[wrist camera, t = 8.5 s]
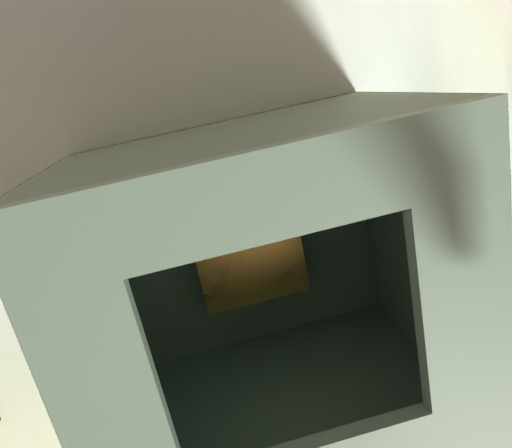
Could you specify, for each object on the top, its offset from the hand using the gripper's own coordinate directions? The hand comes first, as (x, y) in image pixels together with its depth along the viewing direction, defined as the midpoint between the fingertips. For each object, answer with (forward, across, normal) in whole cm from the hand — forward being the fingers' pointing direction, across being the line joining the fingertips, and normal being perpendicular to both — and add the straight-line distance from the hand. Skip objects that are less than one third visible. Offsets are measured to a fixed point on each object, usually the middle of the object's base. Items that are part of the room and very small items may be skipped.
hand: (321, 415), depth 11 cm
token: (+13, 0, 0) cm, 13 cm away
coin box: (+14, 0, 0) cm, 14 cm away
